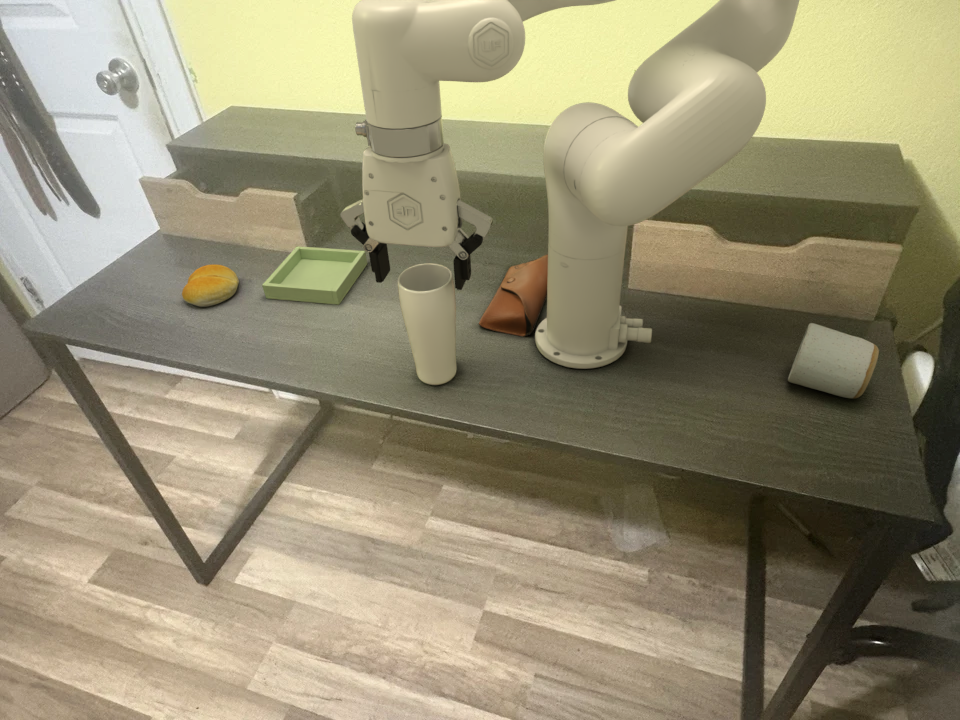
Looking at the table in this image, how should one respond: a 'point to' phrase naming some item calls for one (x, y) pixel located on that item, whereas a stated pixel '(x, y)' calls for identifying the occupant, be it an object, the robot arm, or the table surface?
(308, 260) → the tray
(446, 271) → the drinking glass
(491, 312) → the sunglasses case
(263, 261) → the table surface
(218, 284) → the bread roll
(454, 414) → the table surface
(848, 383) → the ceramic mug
